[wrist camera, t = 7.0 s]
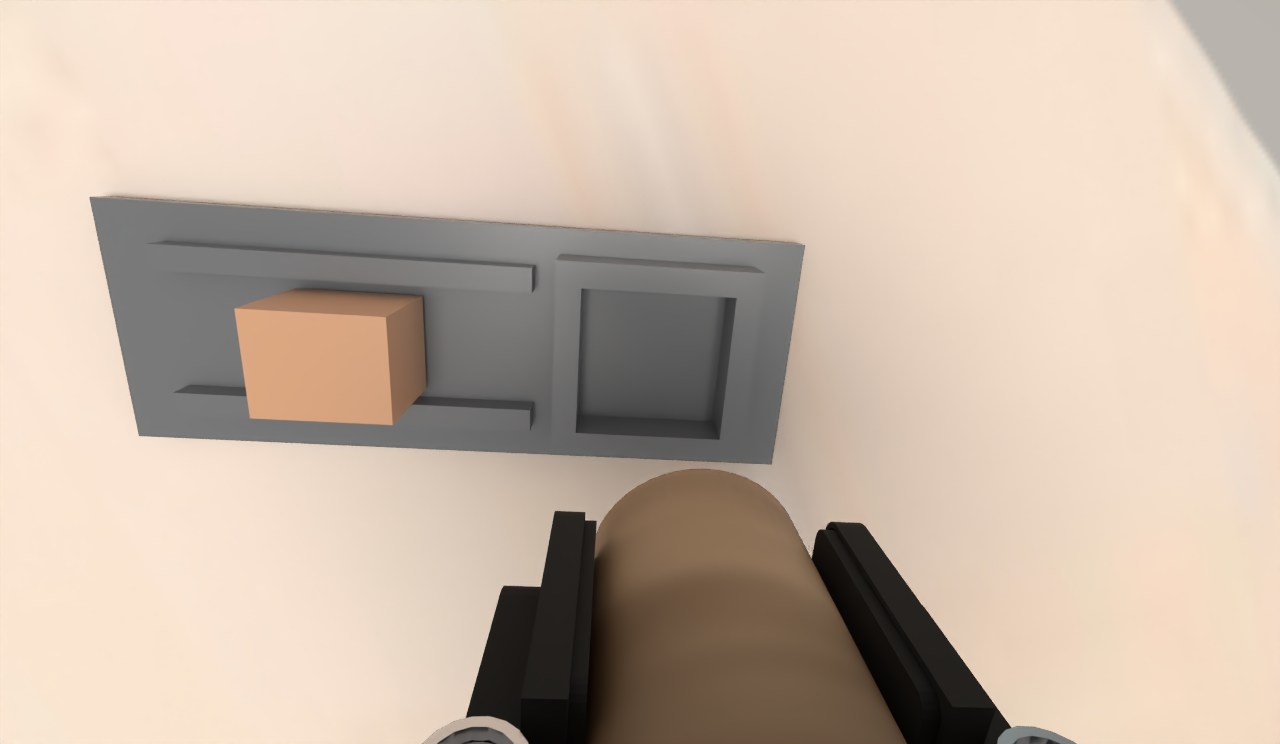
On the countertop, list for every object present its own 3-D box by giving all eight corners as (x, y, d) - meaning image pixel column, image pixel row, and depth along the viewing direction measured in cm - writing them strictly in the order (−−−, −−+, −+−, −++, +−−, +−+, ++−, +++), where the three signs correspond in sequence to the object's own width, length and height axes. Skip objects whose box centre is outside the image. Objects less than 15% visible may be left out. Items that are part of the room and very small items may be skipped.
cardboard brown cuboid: (426, 388, 25) (392, 425, 21) (306, 381, 25) (249, 418, 21) (422, 295, 24) (385, 317, 20) (295, 288, 24) (234, 308, 20)
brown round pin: (782, 649, 12) (934, 1074, 6) (586, 644, 12) (559, 1080, 6) (813, 473, 11) (1038, 804, 5) (595, 464, 11) (571, 798, 5)
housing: (766, 454, 28) (783, 485, 25) (156, 426, 27) (100, 456, 24) (797, 243, 25) (821, 250, 22) (110, 196, 23) (40, 198, 21)
